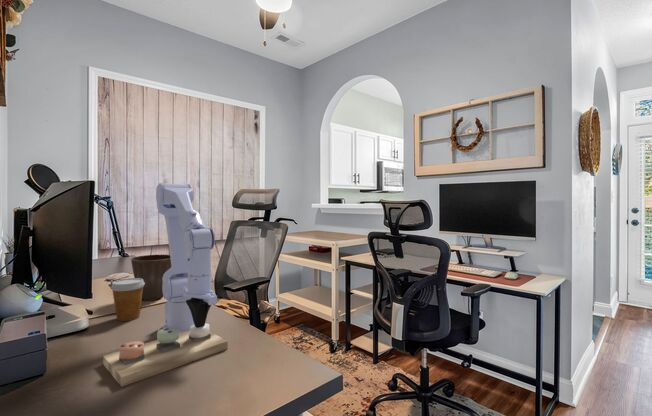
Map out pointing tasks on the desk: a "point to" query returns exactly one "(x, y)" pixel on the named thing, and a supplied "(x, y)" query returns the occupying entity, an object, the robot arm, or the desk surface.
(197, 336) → the off-white button
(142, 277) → the plant pot
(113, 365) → the button panel
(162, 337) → the sage button
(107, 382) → the desk surface
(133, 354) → the terracotta button
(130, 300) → the disposable coffee cup
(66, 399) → the desk surface
